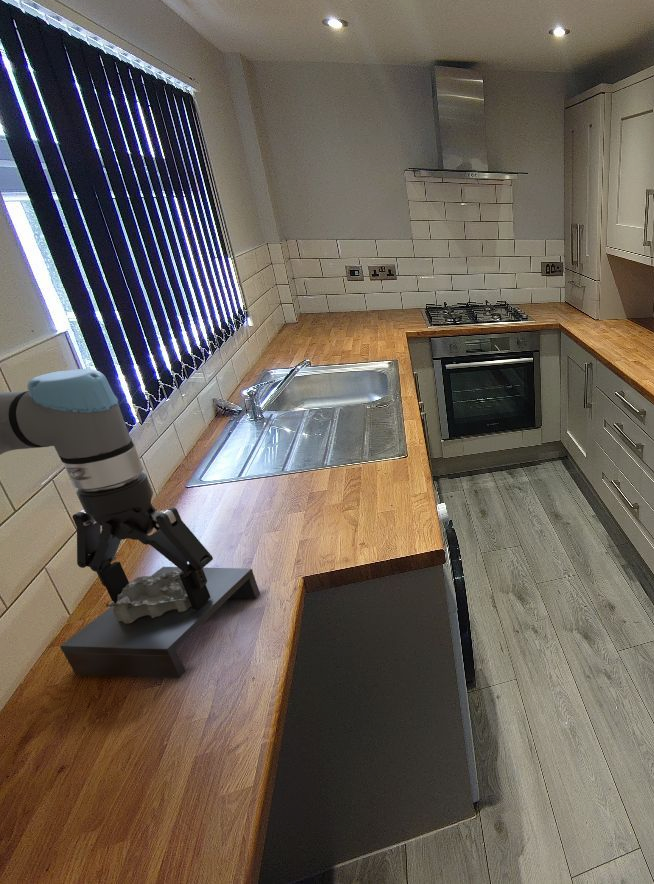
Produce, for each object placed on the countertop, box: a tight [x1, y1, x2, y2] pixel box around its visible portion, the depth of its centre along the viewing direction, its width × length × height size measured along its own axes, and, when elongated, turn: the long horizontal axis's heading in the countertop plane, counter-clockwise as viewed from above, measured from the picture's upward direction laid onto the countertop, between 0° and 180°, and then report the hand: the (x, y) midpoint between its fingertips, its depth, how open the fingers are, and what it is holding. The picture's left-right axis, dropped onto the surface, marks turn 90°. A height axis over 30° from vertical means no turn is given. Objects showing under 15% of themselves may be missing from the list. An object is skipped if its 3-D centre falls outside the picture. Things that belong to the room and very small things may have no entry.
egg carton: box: [105, 570, 192, 623], centre depth 81 cm, size 11×8×4 cm
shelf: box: [59, 566, 261, 679], centre depth 83 cm, size 16×18×6 cm
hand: (163, 602), depth 82 cm, fingers closed on egg carton, 12 cm apart
